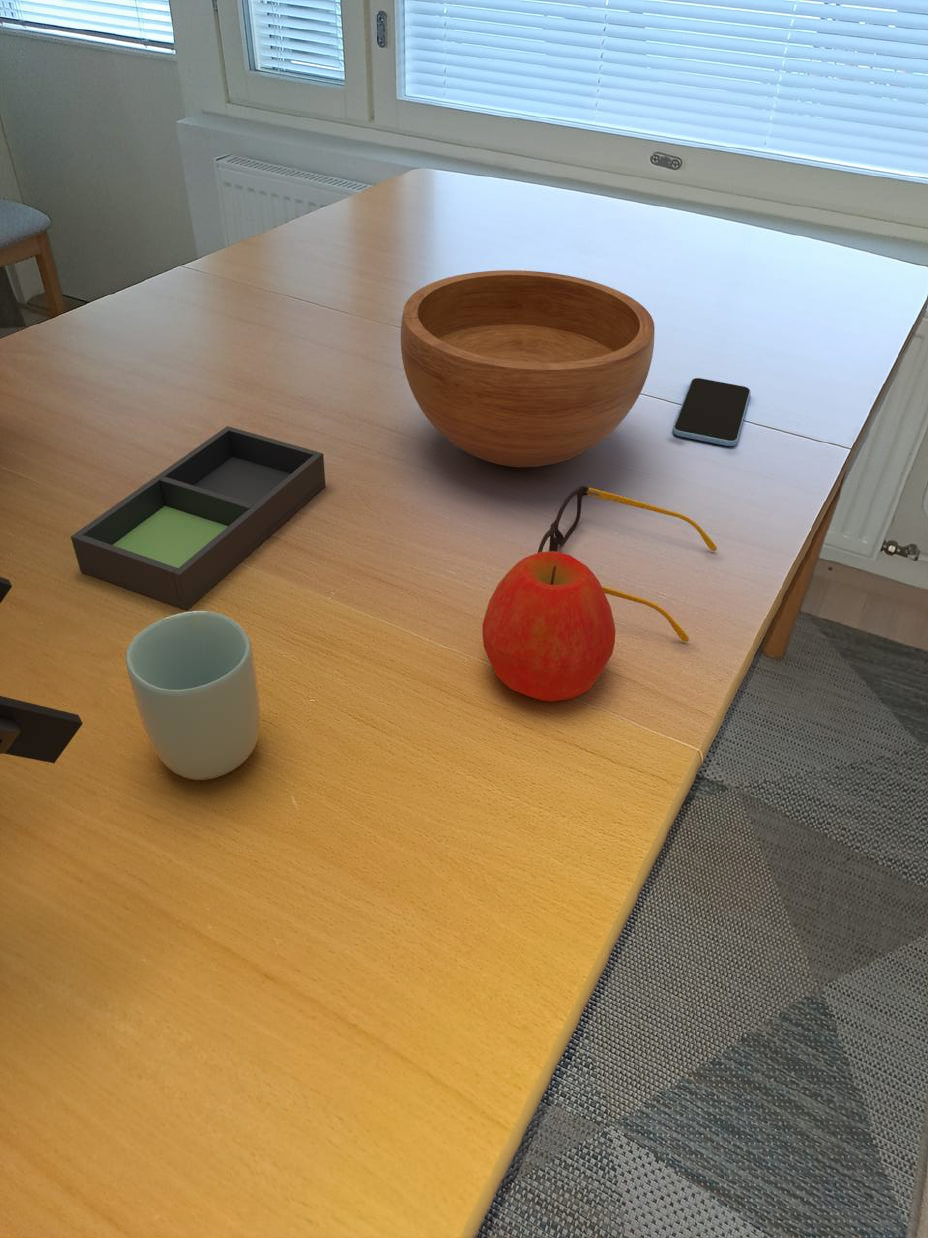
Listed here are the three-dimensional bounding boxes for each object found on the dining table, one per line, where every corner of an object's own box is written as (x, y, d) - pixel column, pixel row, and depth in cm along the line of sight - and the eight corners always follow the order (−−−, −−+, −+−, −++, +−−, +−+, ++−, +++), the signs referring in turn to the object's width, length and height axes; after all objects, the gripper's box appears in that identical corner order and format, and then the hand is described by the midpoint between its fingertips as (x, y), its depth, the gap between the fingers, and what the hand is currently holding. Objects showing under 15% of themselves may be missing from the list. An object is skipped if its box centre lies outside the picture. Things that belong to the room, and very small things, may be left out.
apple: (474, 628, 76) (480, 524, 69) (595, 626, 77) (613, 523, 70) (484, 717, 68) (493, 610, 62) (619, 714, 69) (642, 608, 62)
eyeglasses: (568, 515, 90) (573, 480, 87) (716, 552, 86) (725, 516, 83) (522, 599, 79) (526, 562, 77) (687, 644, 76) (697, 607, 73)
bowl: (355, 437, 100) (349, 301, 90) (522, 378, 112) (533, 253, 103) (508, 545, 85) (521, 397, 76) (680, 463, 98) (710, 327, 88)
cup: (232, 698, 69) (213, 595, 62) (287, 760, 64) (273, 656, 58) (134, 746, 65) (103, 641, 58) (185, 816, 60) (159, 710, 54)
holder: (80, 572, 80) (70, 536, 77) (231, 458, 95) (227, 425, 93) (187, 610, 76) (179, 574, 74) (325, 486, 92) (323, 453, 89)
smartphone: (752, 386, 111) (737, 442, 100) (750, 393, 112) (736, 449, 101) (691, 375, 113) (671, 428, 102) (690, 381, 113) (669, 435, 102)
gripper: (-442, 623, 27) (145, 753, 44) (-423, 329, 42) (7, 507, 59) (-558, 814, 28) (59, 870, 45) (-499, 459, 43) (-55, 599, 60)
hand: (30, 664), depth 52 cm, fingers open, 13 cm apart
